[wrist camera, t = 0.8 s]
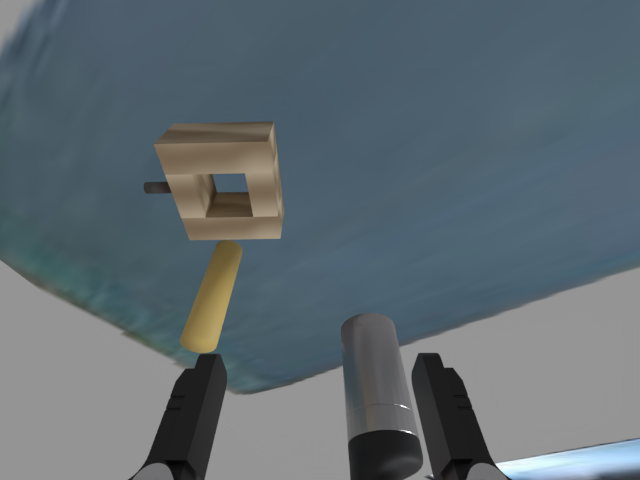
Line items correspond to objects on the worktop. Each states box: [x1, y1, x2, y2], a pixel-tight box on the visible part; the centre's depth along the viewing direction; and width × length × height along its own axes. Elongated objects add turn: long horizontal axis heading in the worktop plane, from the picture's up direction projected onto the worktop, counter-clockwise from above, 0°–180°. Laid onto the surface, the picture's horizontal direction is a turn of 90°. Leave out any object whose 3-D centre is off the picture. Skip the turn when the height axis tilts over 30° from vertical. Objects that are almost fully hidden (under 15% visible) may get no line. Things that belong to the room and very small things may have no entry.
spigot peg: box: [180, 240, 243, 353], centre depth 37 cm, size 4×4×14 cm
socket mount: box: [144, 121, 284, 240], centre depth 33 cm, size 11×14×5 cm
